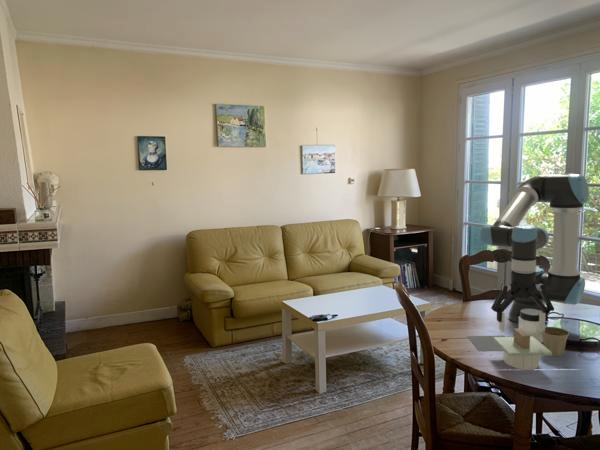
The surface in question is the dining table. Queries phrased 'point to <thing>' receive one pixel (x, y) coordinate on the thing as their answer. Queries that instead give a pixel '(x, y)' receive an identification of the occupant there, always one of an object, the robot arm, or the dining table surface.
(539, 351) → the lid
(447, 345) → the dining table surface
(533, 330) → the jar
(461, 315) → the dining table surface
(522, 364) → the bowl
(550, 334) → the flower pot
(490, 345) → the mat
